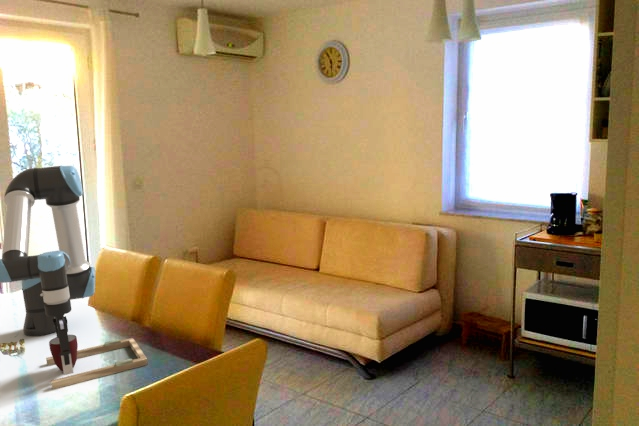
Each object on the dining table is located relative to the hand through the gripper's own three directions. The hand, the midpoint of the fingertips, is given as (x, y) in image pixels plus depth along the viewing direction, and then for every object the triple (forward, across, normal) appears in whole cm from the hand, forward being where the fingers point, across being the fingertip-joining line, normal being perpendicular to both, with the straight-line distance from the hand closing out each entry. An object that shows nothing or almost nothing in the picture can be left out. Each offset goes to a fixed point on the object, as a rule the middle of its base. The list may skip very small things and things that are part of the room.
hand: (66, 367), depth 180 cm
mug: (+1, 0, 0) cm, 1 cm away
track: (+1, 0, +9) cm, 9 cm away
